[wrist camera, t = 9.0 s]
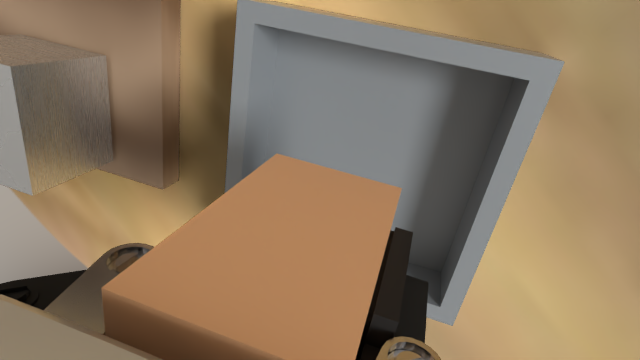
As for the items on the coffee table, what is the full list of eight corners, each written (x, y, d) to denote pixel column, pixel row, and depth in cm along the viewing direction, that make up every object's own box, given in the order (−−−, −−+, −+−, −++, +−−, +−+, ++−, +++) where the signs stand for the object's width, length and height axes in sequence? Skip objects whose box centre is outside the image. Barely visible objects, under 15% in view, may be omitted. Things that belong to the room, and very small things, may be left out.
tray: (273, 0, 18) (237, -3, 15) (542, 52, 16) (564, 61, 13) (250, 217, 23) (221, 247, 20) (451, 280, 21) (452, 325, 18)
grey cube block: (20, 34, 21) (-92, 39, 17) (106, 55, 20) (10, 66, 16) (36, 137, 24) (-57, 164, 19) (113, 160, 23) (32, 195, 18)
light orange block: (276, 153, 12) (101, 287, 6) (401, 188, 11) (348, 383, 5) (260, 278, 14) (116, 474, 8) (365, 315, 14) (295, 564, 7)
